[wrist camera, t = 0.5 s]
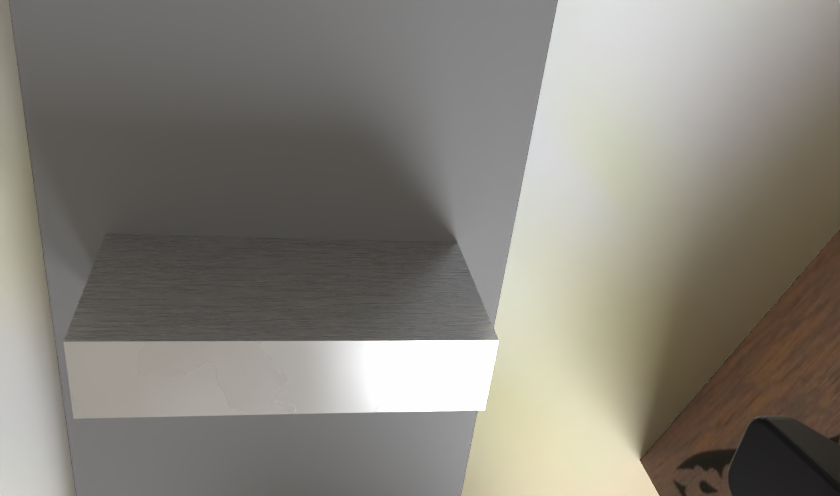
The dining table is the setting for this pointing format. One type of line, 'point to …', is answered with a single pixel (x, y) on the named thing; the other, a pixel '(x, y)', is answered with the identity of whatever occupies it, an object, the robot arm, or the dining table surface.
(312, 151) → the stand
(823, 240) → the dining table surface
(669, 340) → the dining table surface
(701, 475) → the tissue box cover
